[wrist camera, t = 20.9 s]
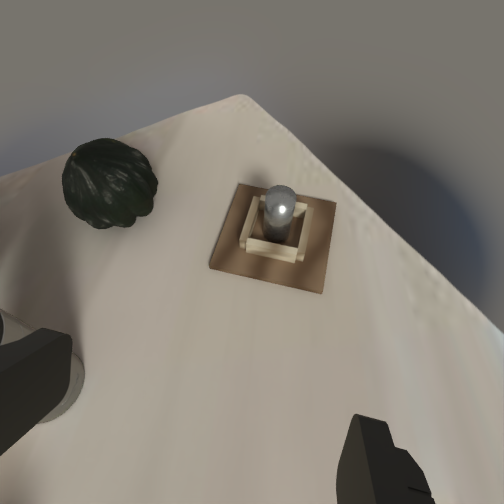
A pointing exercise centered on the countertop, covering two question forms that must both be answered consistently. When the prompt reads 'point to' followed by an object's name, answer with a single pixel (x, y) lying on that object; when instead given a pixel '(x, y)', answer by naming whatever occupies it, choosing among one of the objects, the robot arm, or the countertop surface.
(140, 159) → the squash
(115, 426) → the countertop surface
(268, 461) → the countertop surface
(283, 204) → the steel cylinder
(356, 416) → the robot arm
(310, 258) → the socket board
